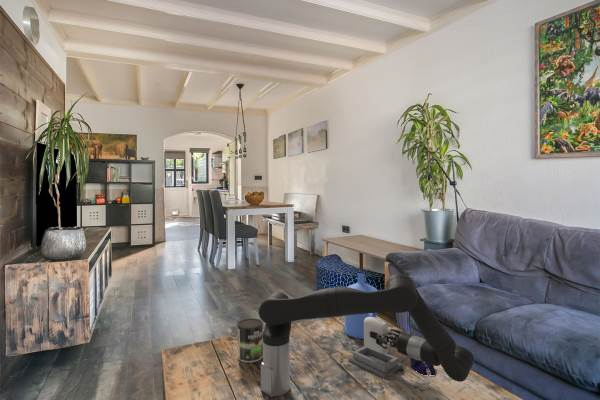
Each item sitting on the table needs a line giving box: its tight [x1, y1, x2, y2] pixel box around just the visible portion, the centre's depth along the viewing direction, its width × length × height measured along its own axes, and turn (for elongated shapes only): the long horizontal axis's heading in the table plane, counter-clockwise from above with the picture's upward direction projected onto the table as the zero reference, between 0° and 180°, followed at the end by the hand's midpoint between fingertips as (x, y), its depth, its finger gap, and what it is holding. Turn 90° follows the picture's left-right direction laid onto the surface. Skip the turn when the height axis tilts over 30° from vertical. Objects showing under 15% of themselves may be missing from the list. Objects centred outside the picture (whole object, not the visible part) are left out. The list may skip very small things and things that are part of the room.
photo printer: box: [363, 317, 389, 354], centre depth 139 cm, size 10×4×12 cm, turn 39°
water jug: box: [343, 273, 379, 340], centre depth 168 cm, size 16×16×28 cm
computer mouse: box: [410, 357, 436, 376], centre depth 138 cm, size 9×15×4 cm, turn 5°
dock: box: [347, 345, 403, 380], centre depth 140 cm, size 12×17×4 cm
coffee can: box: [236, 318, 264, 364], centre depth 146 cm, size 10×10×14 cm
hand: (374, 332), depth 140 cm, fingers closed on photo printer, 4 cm apart
